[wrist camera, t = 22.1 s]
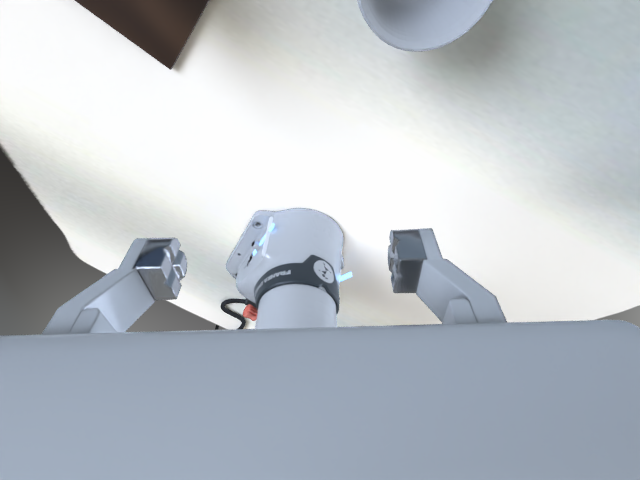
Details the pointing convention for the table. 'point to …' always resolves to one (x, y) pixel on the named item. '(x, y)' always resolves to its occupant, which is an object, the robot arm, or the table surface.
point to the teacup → (421, 21)
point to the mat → (151, 23)
